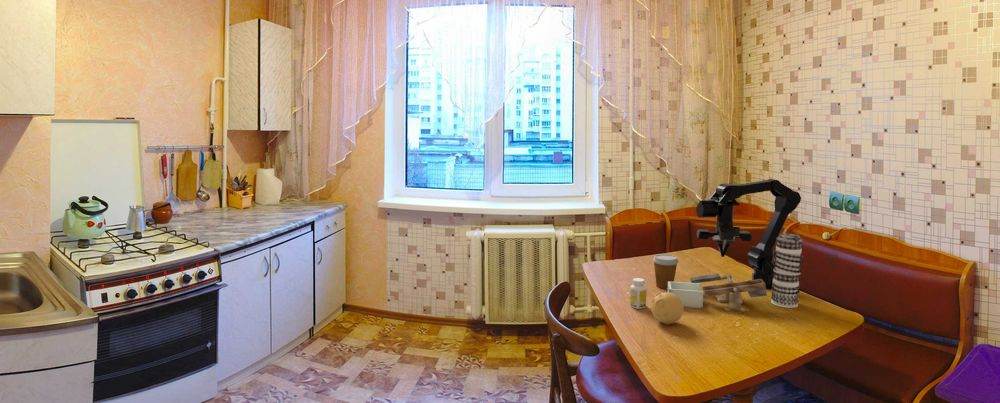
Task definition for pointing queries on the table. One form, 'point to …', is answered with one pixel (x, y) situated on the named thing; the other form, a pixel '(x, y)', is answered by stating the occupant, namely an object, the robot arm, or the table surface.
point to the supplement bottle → (638, 294)
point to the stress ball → (667, 308)
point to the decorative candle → (787, 270)
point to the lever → (731, 286)
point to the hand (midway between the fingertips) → (722, 256)
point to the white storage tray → (687, 293)
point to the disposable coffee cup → (664, 269)
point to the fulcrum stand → (732, 301)
